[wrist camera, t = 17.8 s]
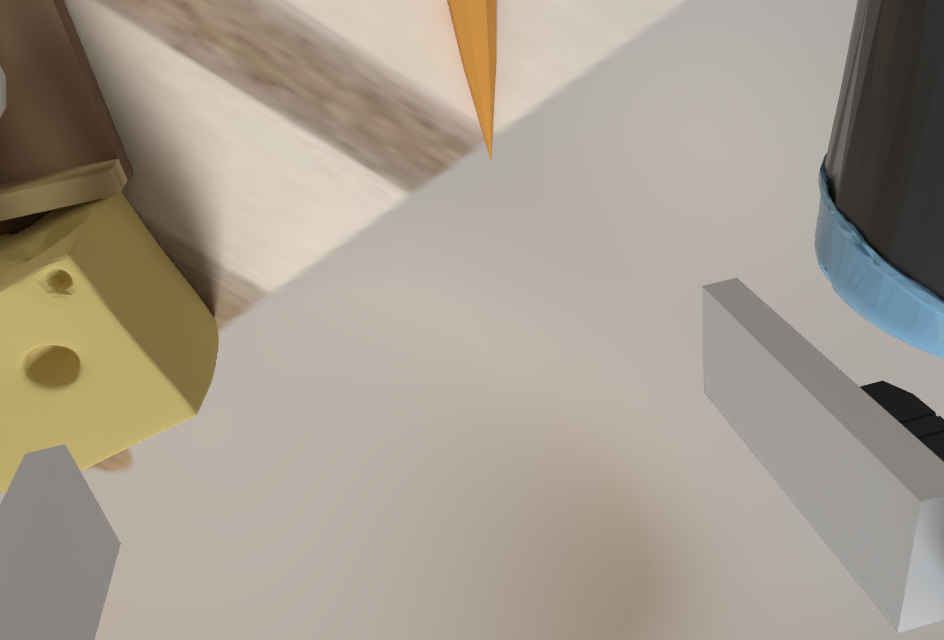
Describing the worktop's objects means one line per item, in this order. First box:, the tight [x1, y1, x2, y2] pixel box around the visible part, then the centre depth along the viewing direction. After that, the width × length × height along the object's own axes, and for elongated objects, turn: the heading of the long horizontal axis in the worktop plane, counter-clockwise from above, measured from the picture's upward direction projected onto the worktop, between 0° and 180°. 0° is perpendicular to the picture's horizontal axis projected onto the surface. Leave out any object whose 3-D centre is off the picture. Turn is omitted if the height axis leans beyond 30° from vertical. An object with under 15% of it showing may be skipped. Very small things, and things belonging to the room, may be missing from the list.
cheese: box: [0, 192, 219, 495], centre depth 39 cm, size 10×11×10 cm
